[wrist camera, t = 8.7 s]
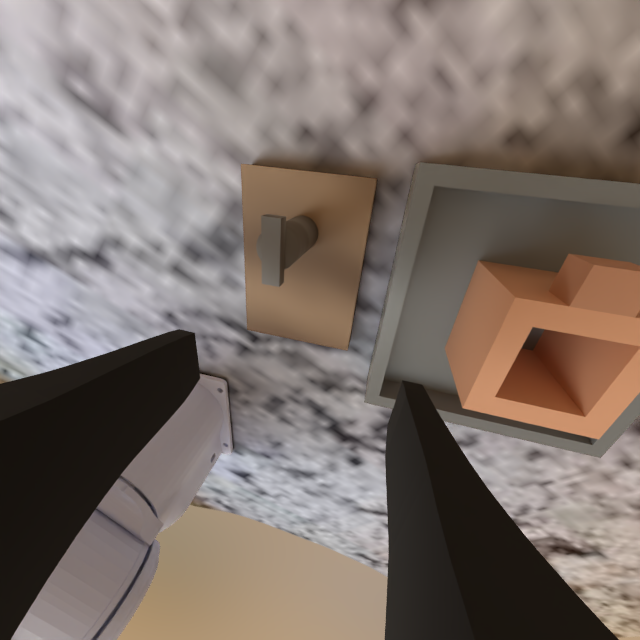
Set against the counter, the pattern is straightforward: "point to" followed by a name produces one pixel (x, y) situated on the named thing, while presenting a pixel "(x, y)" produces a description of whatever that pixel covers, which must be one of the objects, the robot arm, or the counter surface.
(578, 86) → the counter surface
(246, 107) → the counter surface
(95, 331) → the counter surface
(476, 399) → the collar
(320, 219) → the stake board
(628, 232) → the tray
